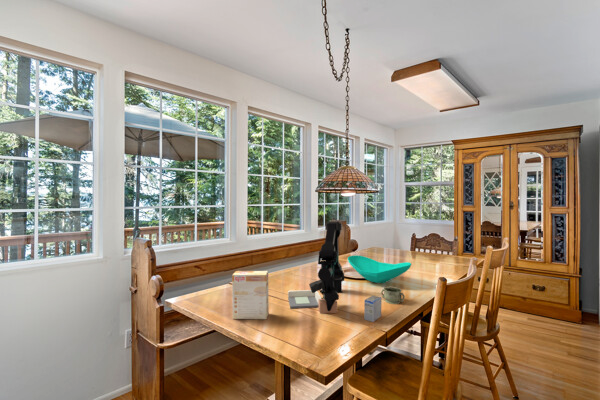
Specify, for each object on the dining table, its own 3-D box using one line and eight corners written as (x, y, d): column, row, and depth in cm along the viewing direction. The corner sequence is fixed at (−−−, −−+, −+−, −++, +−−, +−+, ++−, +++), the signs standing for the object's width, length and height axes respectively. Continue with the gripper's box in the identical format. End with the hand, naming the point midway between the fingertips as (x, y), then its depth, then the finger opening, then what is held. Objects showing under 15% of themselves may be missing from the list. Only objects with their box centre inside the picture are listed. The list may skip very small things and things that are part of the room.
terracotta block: (335, 309, 145) (335, 298, 145) (337, 313, 141) (337, 301, 141) (318, 309, 145) (318, 298, 144) (319, 313, 140) (319, 302, 140)
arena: (316, 297, 161) (316, 289, 161) (321, 307, 147) (321, 298, 147) (288, 298, 160) (288, 290, 160) (290, 308, 146) (290, 300, 146)
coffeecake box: (268, 313, 140) (268, 270, 140) (266, 319, 133) (266, 274, 133) (236, 312, 141) (235, 270, 140) (232, 319, 134) (231, 274, 133)
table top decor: (338, 281, 191) (338, 259, 191) (359, 272, 213) (359, 252, 212) (402, 293, 167) (402, 269, 166) (418, 282, 188) (418, 260, 188)
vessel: (377, 301, 156) (377, 288, 155) (384, 296, 163) (384, 284, 162) (401, 306, 148) (401, 293, 148) (407, 301, 155) (407, 289, 155)
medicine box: (372, 314, 139) (372, 295, 139) (381, 316, 136) (381, 297, 136) (364, 319, 133) (364, 299, 133) (373, 322, 130) (373, 302, 130)
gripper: (307, 270, 151) (307, 302, 151) (313, 281, 132) (313, 317, 132) (330, 270, 152) (330, 301, 152) (339, 280, 133) (339, 316, 134)
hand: (327, 308), depth 143 cm, fingers open, 5 cm apart
